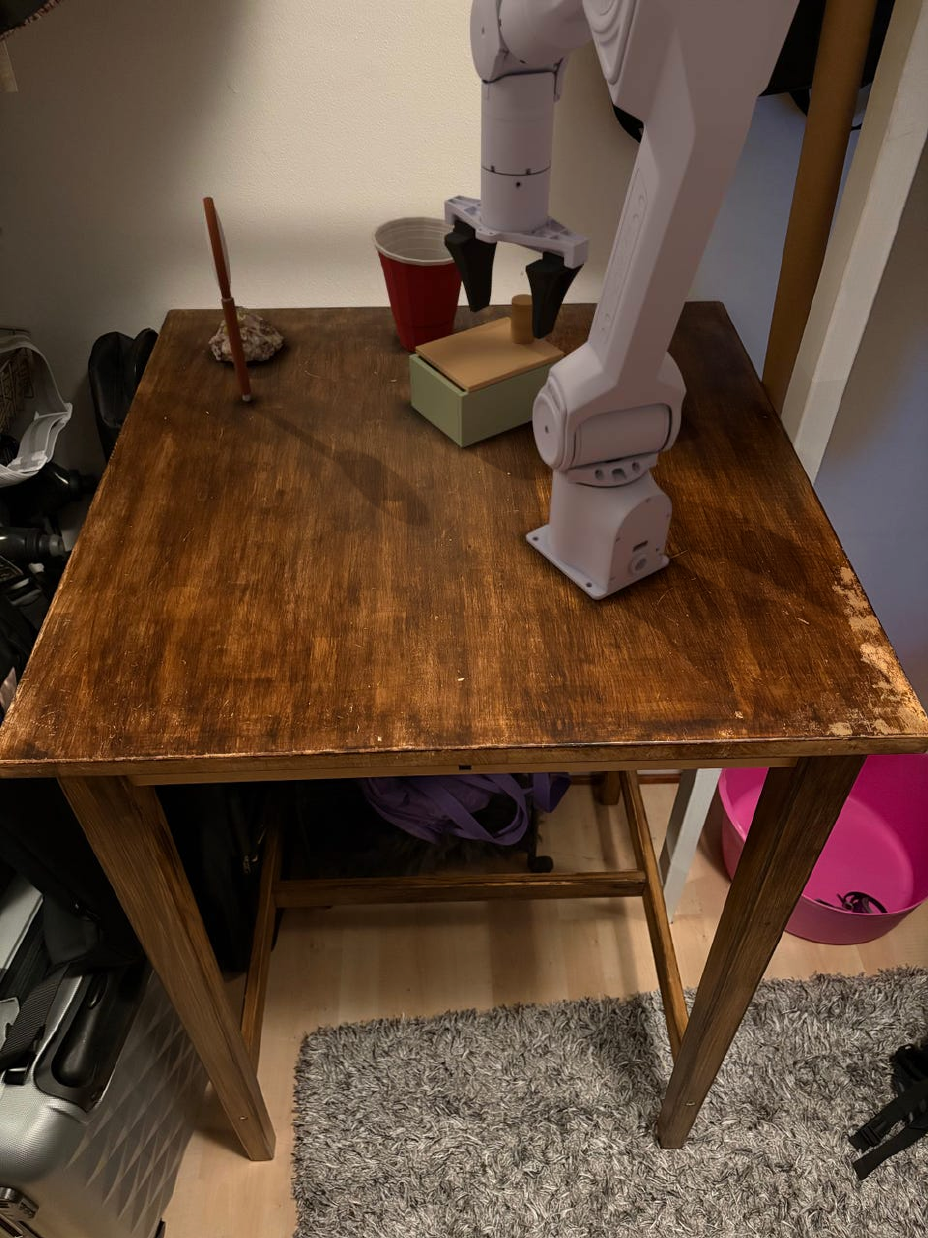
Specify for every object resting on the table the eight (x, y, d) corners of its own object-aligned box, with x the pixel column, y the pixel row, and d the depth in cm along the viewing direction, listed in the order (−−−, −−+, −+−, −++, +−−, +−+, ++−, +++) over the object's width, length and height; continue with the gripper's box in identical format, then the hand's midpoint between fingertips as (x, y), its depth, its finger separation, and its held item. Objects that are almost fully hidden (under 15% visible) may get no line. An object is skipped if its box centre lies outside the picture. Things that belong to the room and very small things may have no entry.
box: (553, 412, 91) (557, 361, 87) (461, 448, 87) (461, 396, 83) (500, 373, 97) (501, 324, 93) (411, 405, 92) (408, 355, 88)
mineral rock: (289, 342, 97) (211, 331, 94) (283, 380, 100) (208, 370, 97) (280, 301, 105) (208, 290, 102) (275, 337, 107) (205, 327, 105)
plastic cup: (455, 373, 97) (453, 262, 88) (363, 356, 100) (353, 247, 91) (488, 327, 104) (490, 221, 96) (402, 313, 107) (396, 208, 98)
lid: (563, 358, 88) (567, 313, 84) (468, 392, 83) (468, 346, 80) (507, 321, 93) (509, 277, 90) (415, 352, 89) (413, 307, 85)
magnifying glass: (235, 381, 96) (195, 183, 82) (252, 378, 96) (214, 181, 82) (242, 424, 90) (200, 219, 76) (259, 422, 90) (221, 216, 76)
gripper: (417, 155, 75) (423, 311, 85) (555, 199, 68) (544, 363, 78) (474, 135, 79) (474, 286, 88) (610, 174, 72) (594, 334, 81)
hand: (510, 321), depth 83 cm, fingers open, 7 cm apart
